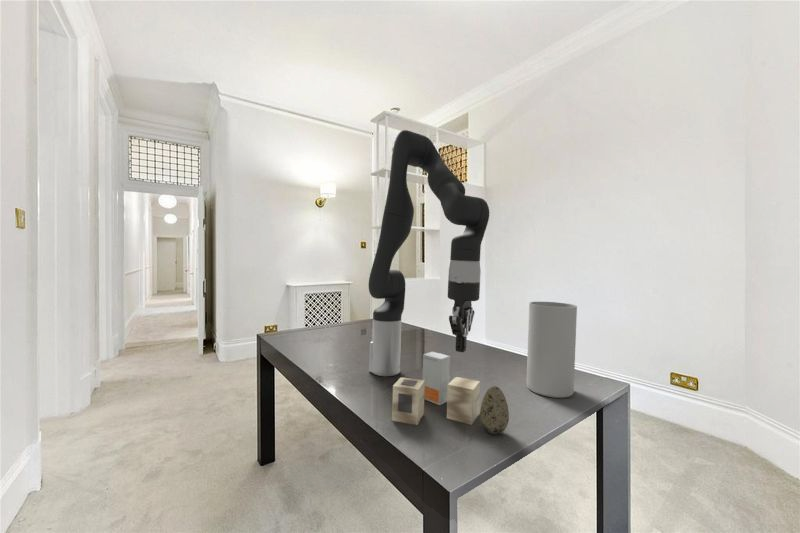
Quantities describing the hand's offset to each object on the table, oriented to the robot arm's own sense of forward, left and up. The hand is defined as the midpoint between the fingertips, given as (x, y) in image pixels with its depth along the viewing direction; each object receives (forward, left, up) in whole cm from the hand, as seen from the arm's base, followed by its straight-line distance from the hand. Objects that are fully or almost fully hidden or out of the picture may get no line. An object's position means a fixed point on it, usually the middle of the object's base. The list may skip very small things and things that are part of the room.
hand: (460, 351), depth 80 cm
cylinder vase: (+18, +28, -15) cm, 37 cm away
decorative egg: (+9, -5, -15) cm, 19 cm away
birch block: (+1, -1, -15) cm, 15 cm away
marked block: (-10, -8, -15) cm, 20 cm away
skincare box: (-8, +4, -15) cm, 17 cm away
